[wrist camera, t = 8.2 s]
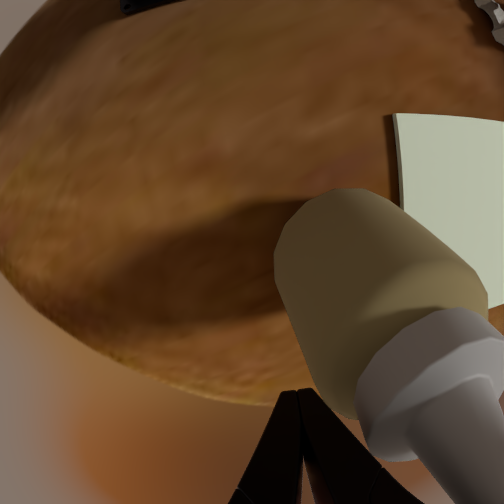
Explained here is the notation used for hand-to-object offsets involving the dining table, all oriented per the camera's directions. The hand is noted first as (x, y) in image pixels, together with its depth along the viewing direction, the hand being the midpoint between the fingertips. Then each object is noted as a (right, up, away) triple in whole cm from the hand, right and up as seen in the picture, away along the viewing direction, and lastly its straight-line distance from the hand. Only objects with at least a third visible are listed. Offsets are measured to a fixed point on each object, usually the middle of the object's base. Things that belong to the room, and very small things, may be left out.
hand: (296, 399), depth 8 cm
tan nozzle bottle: (+4, +5, +12) cm, 13 cm away
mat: (+19, +7, +11) cm, 23 cm away
